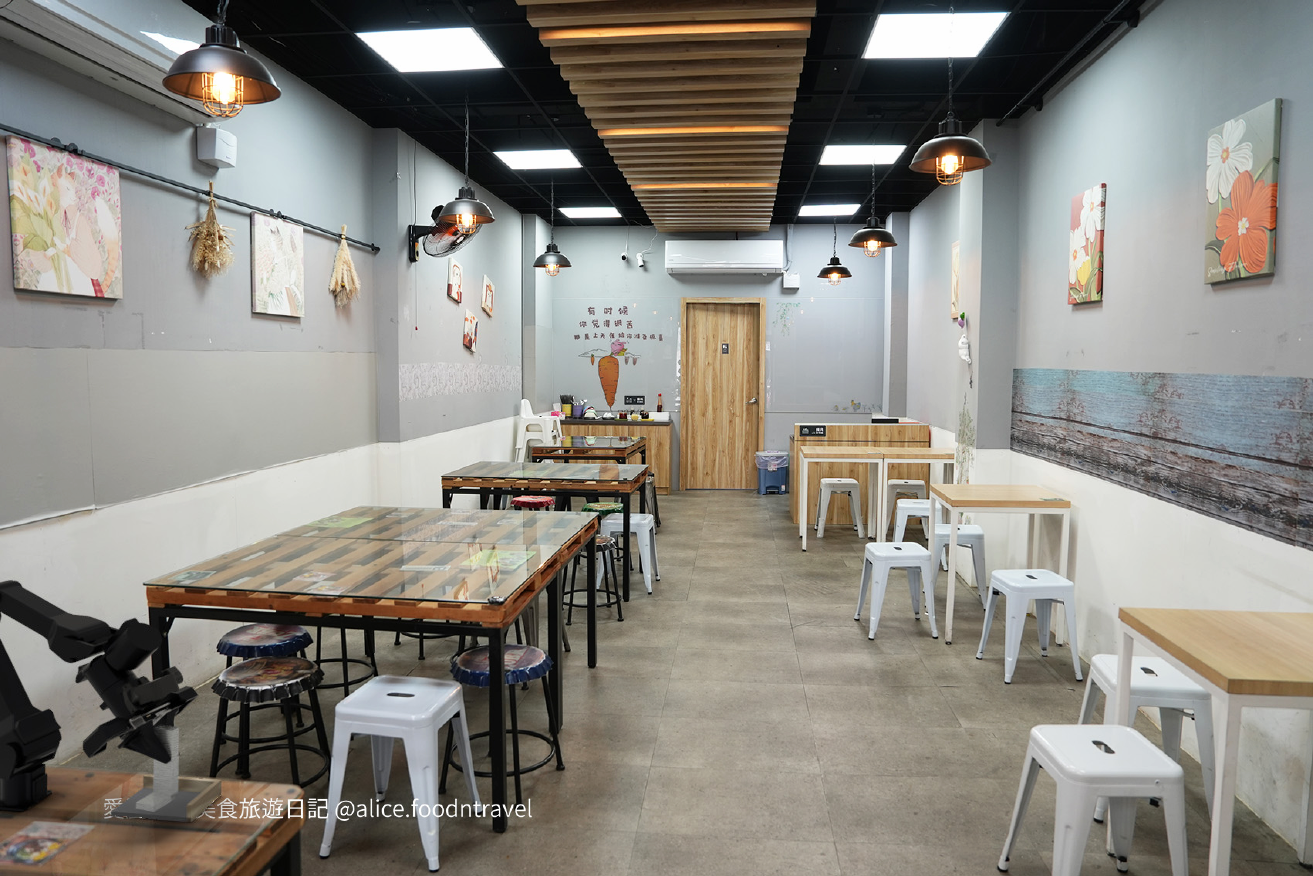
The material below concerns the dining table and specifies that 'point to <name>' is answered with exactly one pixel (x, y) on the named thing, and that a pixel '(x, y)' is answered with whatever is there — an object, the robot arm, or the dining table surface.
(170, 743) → the aluminium bracket
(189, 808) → the wooden corner walls
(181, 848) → the dining table surface
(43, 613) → the robot arm
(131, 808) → the charcoal mat
